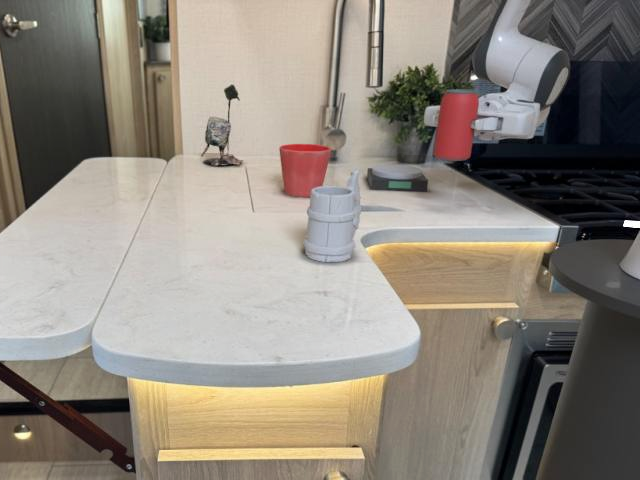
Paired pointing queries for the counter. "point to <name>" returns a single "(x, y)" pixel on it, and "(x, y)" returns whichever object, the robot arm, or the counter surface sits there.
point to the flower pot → (303, 167)
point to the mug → (333, 221)
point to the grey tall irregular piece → (221, 132)
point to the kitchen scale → (396, 178)
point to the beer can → (456, 125)
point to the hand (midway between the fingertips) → (454, 122)
